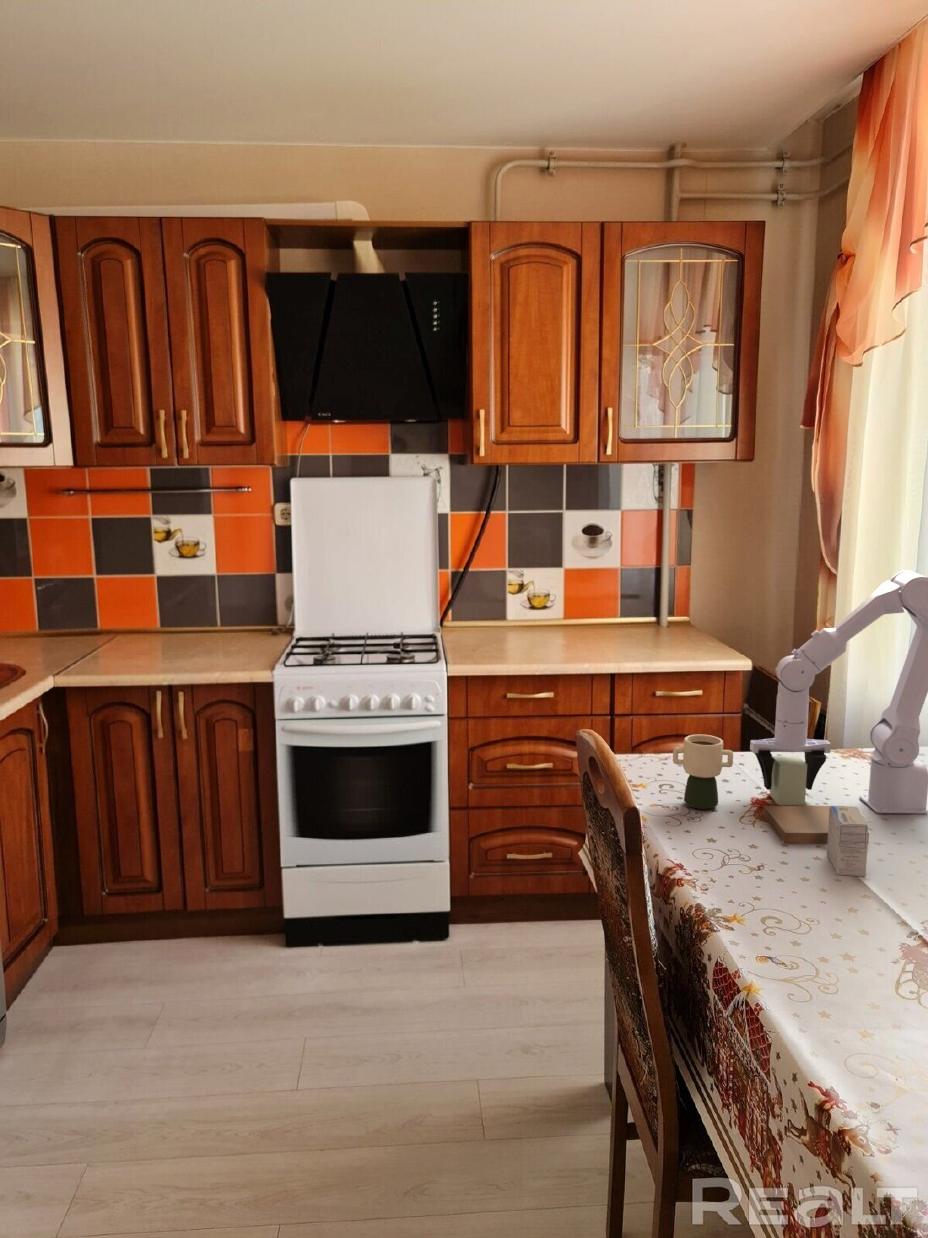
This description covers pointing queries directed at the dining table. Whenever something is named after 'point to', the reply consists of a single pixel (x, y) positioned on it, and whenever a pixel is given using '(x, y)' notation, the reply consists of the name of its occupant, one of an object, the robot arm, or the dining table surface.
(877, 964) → the dining table surface
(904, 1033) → the dining table surface
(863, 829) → the medicine box
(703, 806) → the beige green trophy cup
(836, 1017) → the dining table surface
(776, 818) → the walnut base
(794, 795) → the sage block
